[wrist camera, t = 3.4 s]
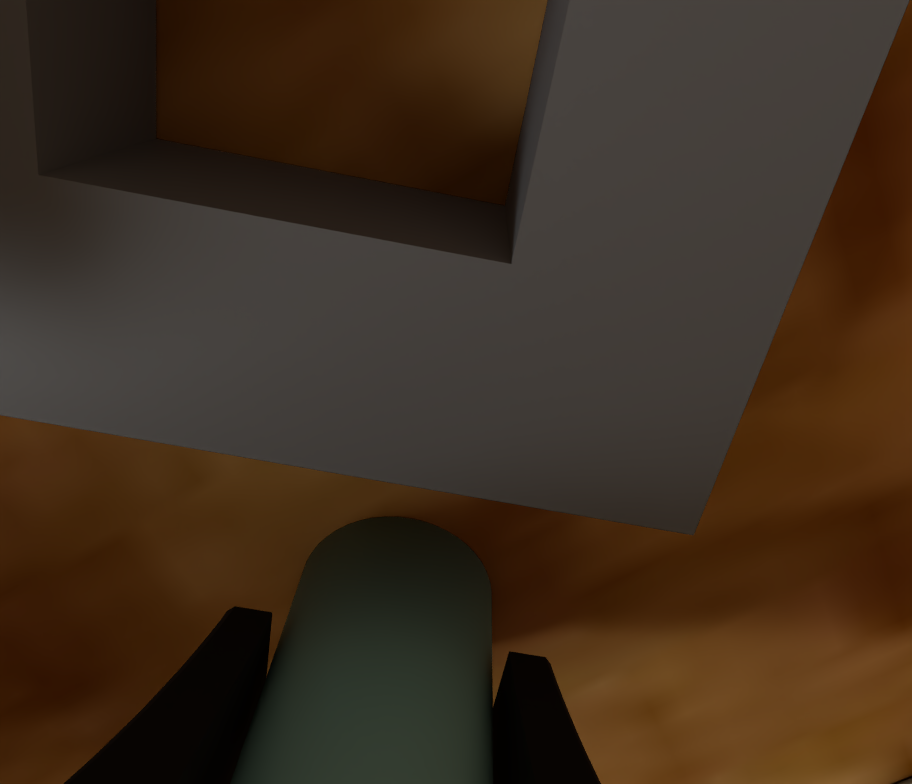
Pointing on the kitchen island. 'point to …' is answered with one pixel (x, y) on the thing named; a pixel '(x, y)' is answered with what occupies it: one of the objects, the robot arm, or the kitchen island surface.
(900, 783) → the coffee can
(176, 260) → the socket block
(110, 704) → the kitchen island surface
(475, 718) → the peg
